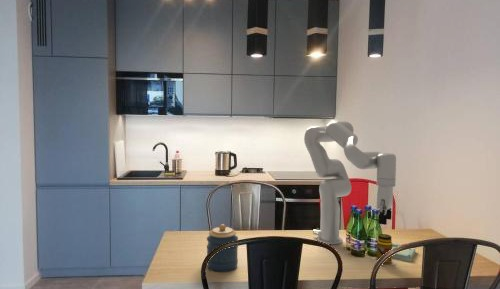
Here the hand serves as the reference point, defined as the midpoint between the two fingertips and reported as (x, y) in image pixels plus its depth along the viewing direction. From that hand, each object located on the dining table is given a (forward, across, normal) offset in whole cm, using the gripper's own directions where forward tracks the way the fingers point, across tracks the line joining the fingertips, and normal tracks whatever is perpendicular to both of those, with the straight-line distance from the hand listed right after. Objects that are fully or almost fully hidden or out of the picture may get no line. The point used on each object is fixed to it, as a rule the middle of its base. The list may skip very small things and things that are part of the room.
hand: (384, 221), depth 151 cm
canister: (+18, +43, -55) cm, 72 cm away
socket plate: (+18, -14, +3) cm, 23 cm away
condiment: (+18, 0, 0) cm, 18 cm away
